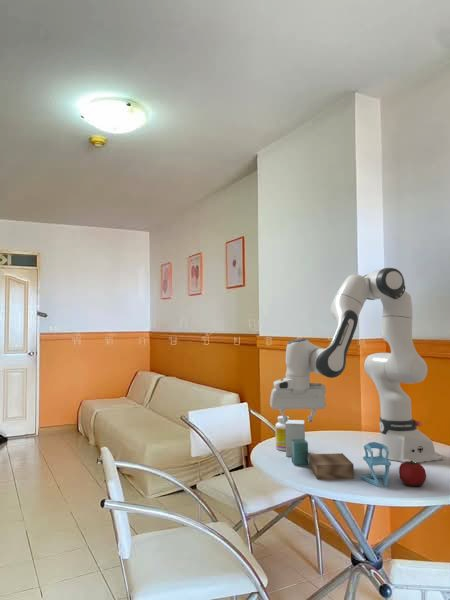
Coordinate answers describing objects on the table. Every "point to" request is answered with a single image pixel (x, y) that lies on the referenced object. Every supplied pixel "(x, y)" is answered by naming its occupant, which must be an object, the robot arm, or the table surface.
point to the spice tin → (299, 452)
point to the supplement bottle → (281, 434)
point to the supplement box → (294, 433)
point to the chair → (376, 463)
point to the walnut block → (331, 466)
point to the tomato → (412, 473)
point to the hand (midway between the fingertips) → (297, 421)
